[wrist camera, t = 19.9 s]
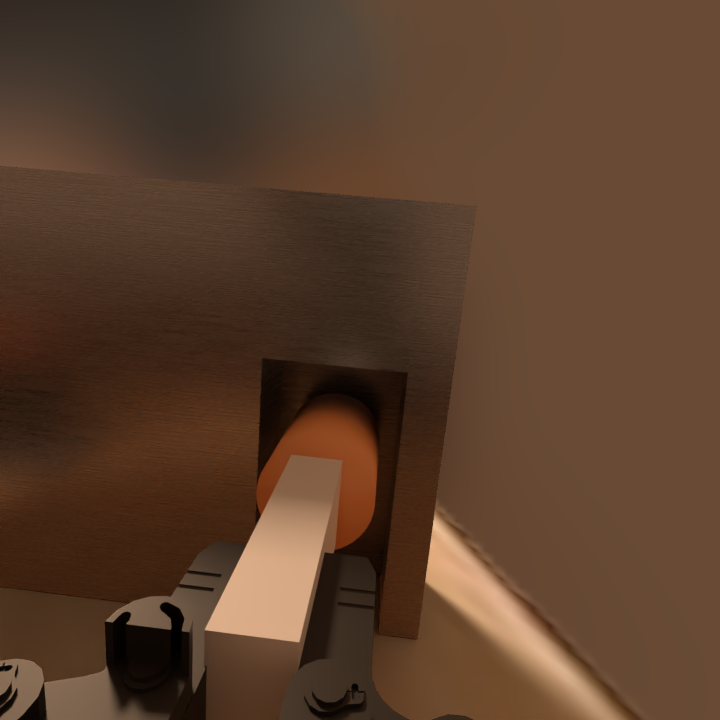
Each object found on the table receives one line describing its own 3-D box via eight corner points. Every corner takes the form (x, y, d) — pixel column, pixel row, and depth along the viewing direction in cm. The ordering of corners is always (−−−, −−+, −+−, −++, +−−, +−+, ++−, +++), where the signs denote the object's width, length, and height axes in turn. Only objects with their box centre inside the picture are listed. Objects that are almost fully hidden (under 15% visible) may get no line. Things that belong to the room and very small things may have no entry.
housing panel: (-216, 558, 20) (-307, 140, 16) (-115, 507, 23) (-169, 162, 20) (417, 639, 18) (476, 206, 15) (413, 571, 22) (458, 215, 19)
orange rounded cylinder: (254, 544, 15) (258, 436, 14) (288, 472, 20) (293, 388, 19) (369, 558, 15) (380, 449, 14) (375, 481, 19) (383, 398, 19)
